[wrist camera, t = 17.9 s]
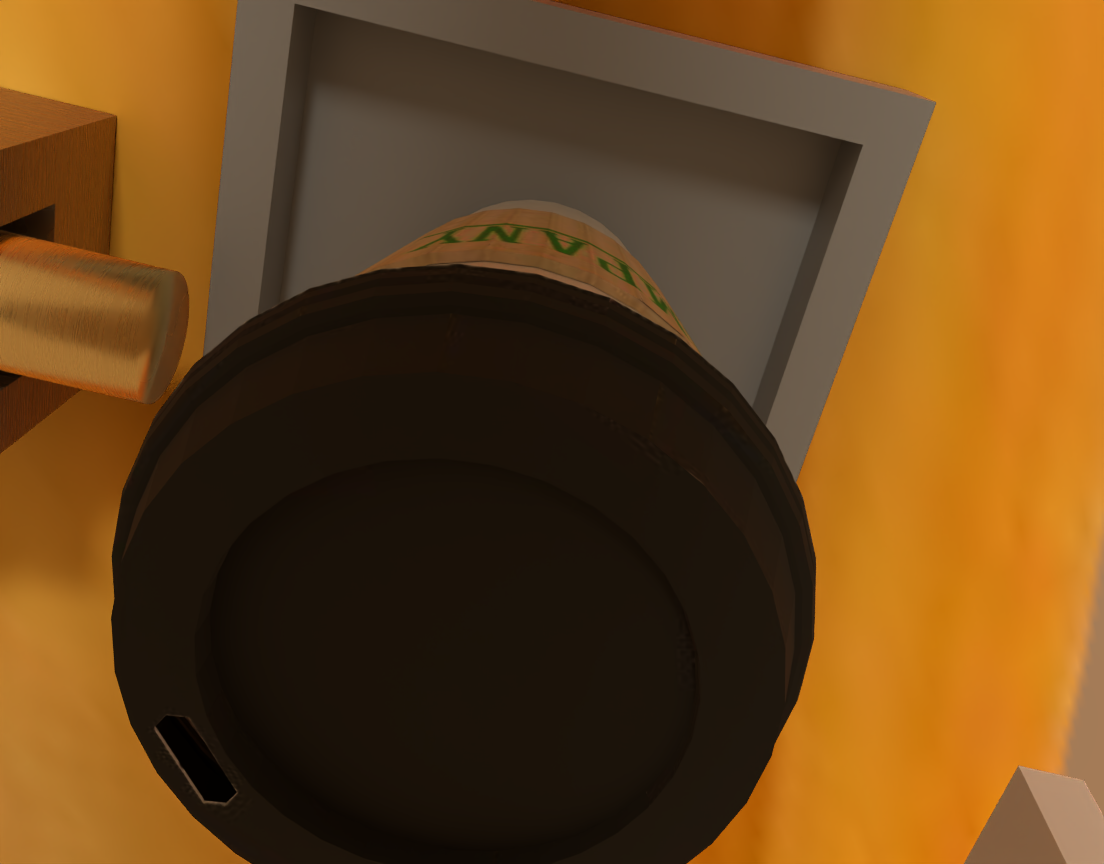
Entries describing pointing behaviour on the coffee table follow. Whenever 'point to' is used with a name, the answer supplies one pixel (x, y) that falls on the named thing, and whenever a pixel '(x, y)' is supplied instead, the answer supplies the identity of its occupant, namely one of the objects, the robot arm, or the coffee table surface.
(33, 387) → the pin mount
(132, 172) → the coffee table surface
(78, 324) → the lock pin
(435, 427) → the coffee cup
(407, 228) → the grey square tray
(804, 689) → the coffee table surface
